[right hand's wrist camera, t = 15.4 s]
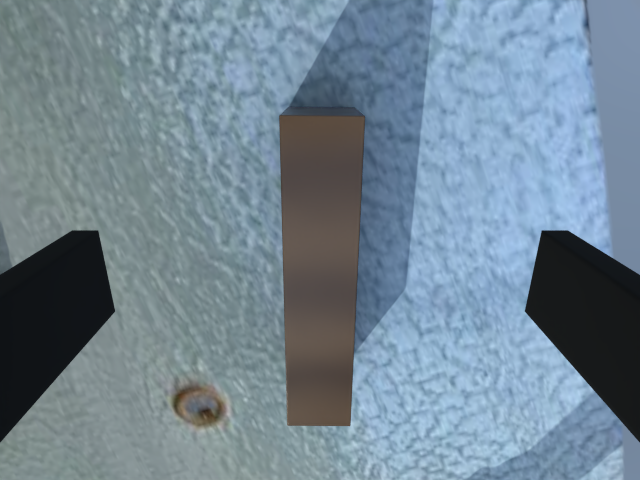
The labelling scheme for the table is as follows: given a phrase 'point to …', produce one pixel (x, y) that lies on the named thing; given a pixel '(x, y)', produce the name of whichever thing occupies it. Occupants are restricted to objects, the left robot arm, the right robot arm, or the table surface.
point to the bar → (320, 258)
